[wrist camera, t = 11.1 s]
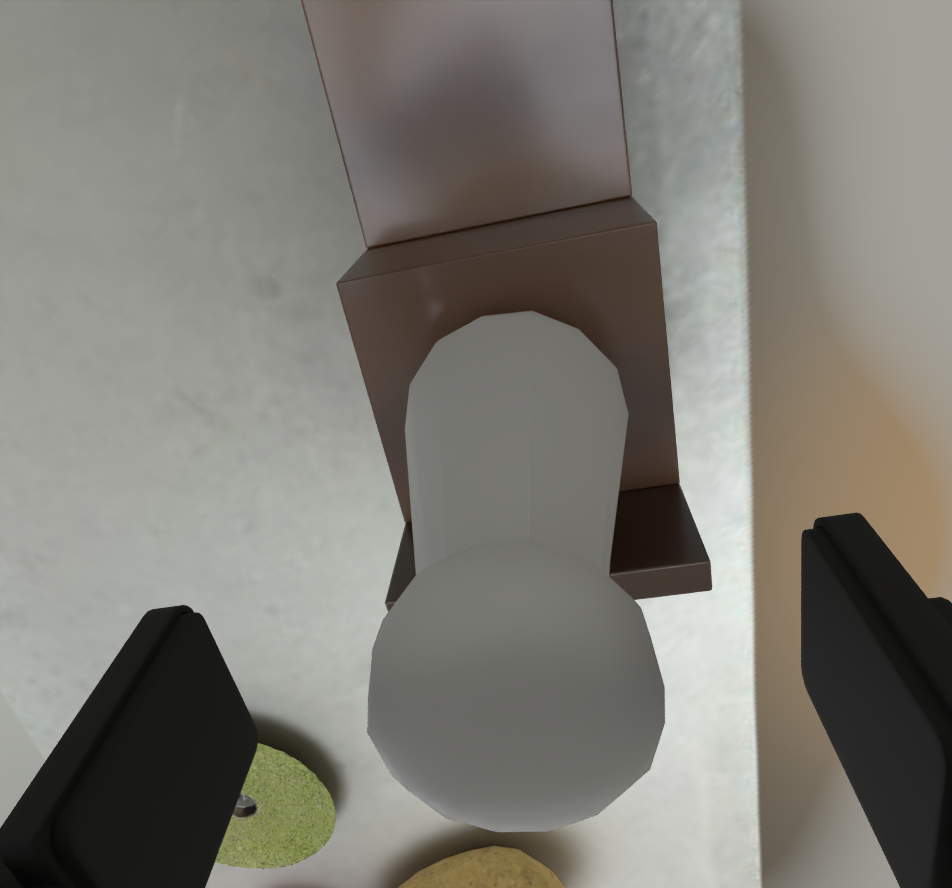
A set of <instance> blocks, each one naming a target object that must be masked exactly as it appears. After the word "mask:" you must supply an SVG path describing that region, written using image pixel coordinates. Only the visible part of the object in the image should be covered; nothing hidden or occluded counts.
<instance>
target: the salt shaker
mask: <svg viewBox="0 0 952 888" xmlns="http://www.w3.org/2000/svg"><path fill="white" fill-rule="evenodd" d="M628 415H629V414H628V410H627V406H626V402H625V398H624V394H623V390H622V386H621V382H620V378H619V374H618V370H617V368H616V367H615V366H614V365H613V364H612V363H611V362H610V361H609V360H608V359H607V358H606V356H605V355H604V354H603V353H602V352H601V351H600V350H599V349H598V348H597V347H596V346H595V345H594V344H593V343H592V342H591V341H590V340H589V339H588V338H587V337H586V336H585V335H584V334H583V333H582V332H581V331H580V330H579V329H577V328H575V327H572V326H570V325H567V324H565V323H562V322H560V321H557V320H555V319H552V318H549V317H547V316H544V315H542V314H539V313H537V312H534V311H525V312H516V313H506V314H497V315H488V316H482V317H480V318H478V319H476V320H474V321H472V322H471V323H469V324H467V325H465V326H463V327H462V328H460V329H458V330H456V331H454V332H452V333H451V334H449V335H447V336H445V337H443V338H441V339H440V340H439V341H438V342H436V343H435V345H434V346H433V348H432V350H431V351H430V353H429V354H428V356H427V358H426V359H425V361H424V362H423V364H422V366H421V367H420V369H419V370H418V372H417V374H416V375H415V377H414V379H413V380H412V382H411V383H410V386H409V396H408V405H407V414H406V423H405V438H406V451H407V464H408V477H409V491H410V504H411V517H412V530H413V543H414V556H415V569H416V576H415V577H414V578H413V580H412V581H411V583H410V584H409V585H408V587H407V588H406V589H405V591H404V592H403V593H402V595H401V596H400V597H399V599H398V600H397V601H396V603H395V604H394V605H393V607H392V608H391V610H390V611H389V612H388V614H387V615H386V616H385V618H384V619H383V621H382V624H381V627H380V629H379V632H378V635H377V638H376V641H375V643H374V646H373V650H372V661H371V672H370V683H369V694H368V727H367V733H368V734H369V736H370V738H371V740H372V741H373V743H374V745H375V747H376V748H377V750H378V752H379V754H380V755H381V757H382V759H383V761H384V762H385V764H386V766H387V768H388V769H389V771H390V773H391V775H392V776H393V777H394V778H395V779H396V780H397V781H398V782H400V783H401V784H402V785H403V786H404V787H405V788H406V789H407V790H408V791H410V792H411V793H412V794H414V795H415V796H417V797H418V798H419V799H421V800H422V801H423V802H425V803H426V804H428V805H429V806H430V807H432V808H433V809H434V810H436V811H437V812H439V813H440V814H441V815H443V816H444V817H445V818H448V819H451V820H455V821H458V822H462V823H466V824H469V825H473V826H476V827H480V828H484V829H487V830H491V831H494V832H550V831H553V830H556V829H558V828H561V827H564V826H567V825H570V824H573V823H576V822H578V821H581V820H584V819H587V818H590V817H593V816H595V815H598V814H599V813H600V812H601V811H602V810H603V809H605V808H606V807H607V806H608V805H609V804H611V803H612V802H613V801H614V800H615V799H616V798H618V797H619V796H620V795H621V794H622V793H623V792H625V791H626V790H627V789H628V788H629V787H630V786H632V785H633V784H634V783H635V782H636V781H637V780H638V779H640V778H641V777H642V776H643V775H644V774H645V773H646V772H648V771H649V770H650V767H651V764H652V761H653V758H654V755H655V752H656V749H657V746H658V743H659V740H660V736H661V733H662V730H663V727H664V724H665V692H664V684H663V680H662V676H661V673H660V669H659V666H658V662H657V659H656V655H655V651H654V648H653V644H652V641H651V637H650V634H649V631H648V628H647V625H646V622H645V619H644V615H643V612H642V609H641V607H640V606H639V605H638V604H637V603H636V602H635V601H634V600H633V598H632V597H631V596H630V595H629V594H627V593H626V592H625V591H624V590H623V589H622V588H621V587H620V586H619V585H618V584H616V583H615V582H614V581H613V580H612V579H611V578H610V577H609V570H610V558H611V550H612V542H613V534H614V526H615V518H616V510H617V502H618V494H619V486H620V478H621V470H622V462H623V454H624V446H625V438H626V430H627V422H628Z"/></svg>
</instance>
